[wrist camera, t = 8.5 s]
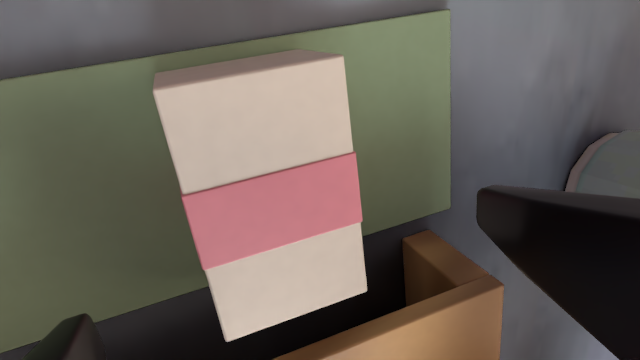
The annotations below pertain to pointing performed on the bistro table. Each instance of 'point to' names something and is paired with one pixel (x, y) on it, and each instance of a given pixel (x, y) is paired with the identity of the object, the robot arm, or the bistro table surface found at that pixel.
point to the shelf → (427, 313)
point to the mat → (160, 176)
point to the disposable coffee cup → (609, 167)
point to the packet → (267, 183)
